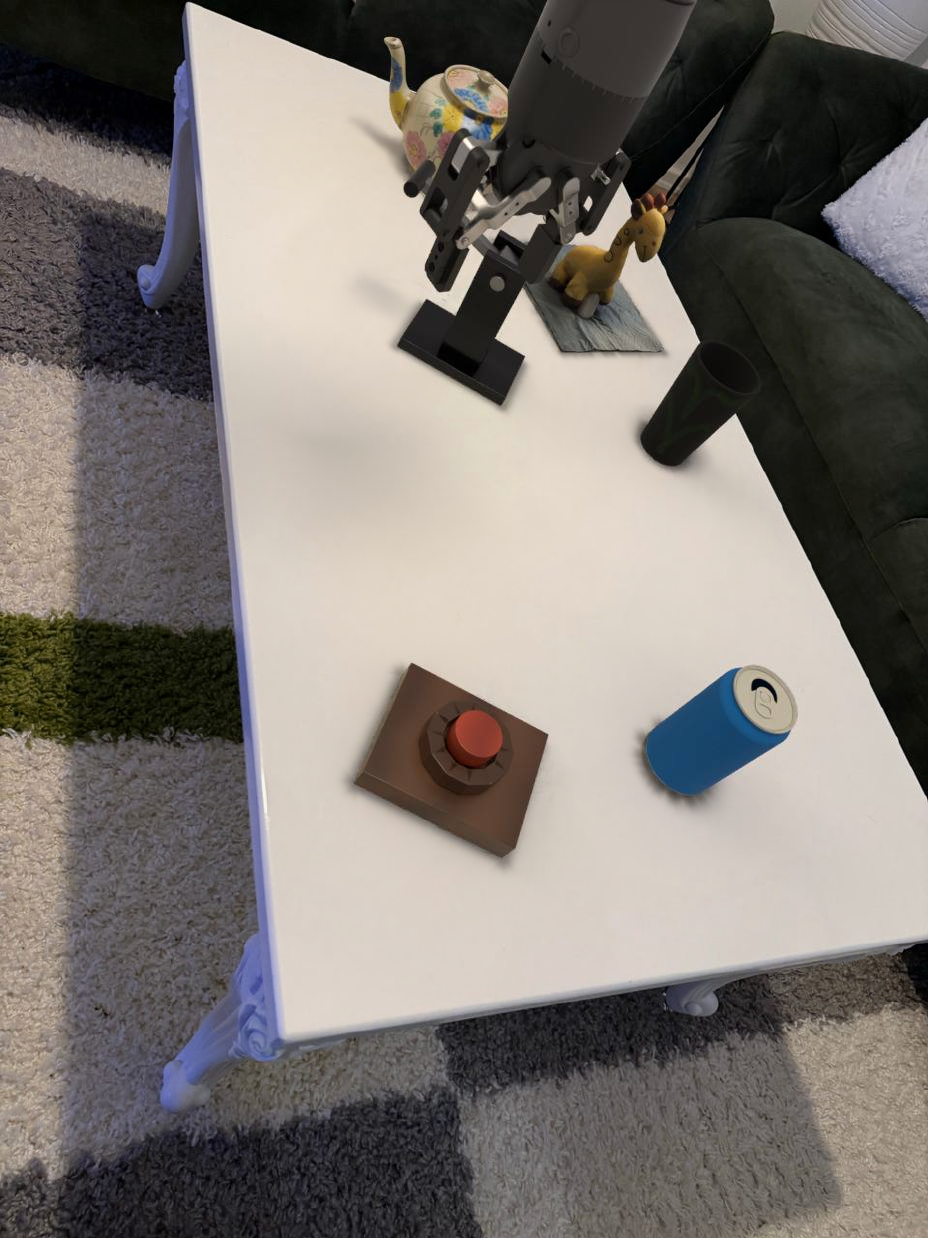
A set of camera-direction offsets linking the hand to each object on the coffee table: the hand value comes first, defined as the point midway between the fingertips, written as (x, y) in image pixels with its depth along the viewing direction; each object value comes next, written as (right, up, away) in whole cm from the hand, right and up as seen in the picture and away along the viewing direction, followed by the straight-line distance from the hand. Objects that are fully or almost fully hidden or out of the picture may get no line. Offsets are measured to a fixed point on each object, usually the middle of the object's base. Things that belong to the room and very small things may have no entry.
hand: (483, 280), depth 63 cm
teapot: (-5, +30, +46) cm, 55 cm away
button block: (-2, -35, +3) cm, 35 cm away
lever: (-2, +12, +20) cm, 23 cm away
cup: (+20, -5, +35) cm, 41 cm away
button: (-1, -33, 0) cm, 33 cm away
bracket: (-2, +3, +29) cm, 29 cm away
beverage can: (+16, -36, +12) cm, 41 cm away
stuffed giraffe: (+13, +15, +44) cm, 48 cm away
